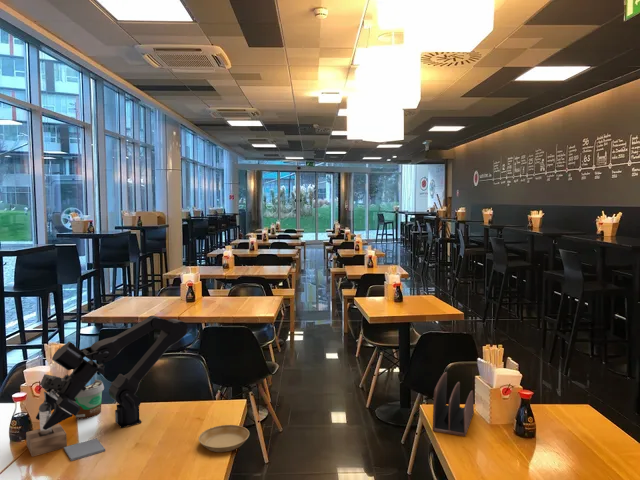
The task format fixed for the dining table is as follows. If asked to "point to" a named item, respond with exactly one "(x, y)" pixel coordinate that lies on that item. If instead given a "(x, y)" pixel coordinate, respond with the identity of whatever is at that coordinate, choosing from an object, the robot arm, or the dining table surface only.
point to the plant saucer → (224, 438)
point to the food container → (90, 400)
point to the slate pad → (84, 449)
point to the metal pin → (44, 418)
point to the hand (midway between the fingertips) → (40, 424)
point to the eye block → (46, 440)
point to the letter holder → (451, 409)
